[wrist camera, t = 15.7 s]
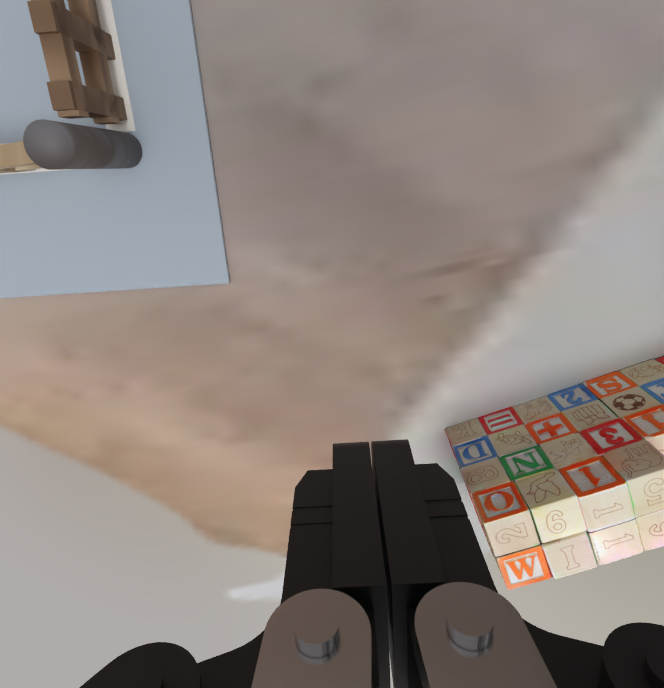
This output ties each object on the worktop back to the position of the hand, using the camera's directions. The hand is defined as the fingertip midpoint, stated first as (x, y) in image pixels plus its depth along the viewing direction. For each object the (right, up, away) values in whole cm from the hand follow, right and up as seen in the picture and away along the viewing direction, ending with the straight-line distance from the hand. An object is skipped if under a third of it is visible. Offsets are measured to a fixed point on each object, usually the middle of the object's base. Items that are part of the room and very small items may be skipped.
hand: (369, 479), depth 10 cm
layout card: (-21, +17, +25) cm, 37 cm away
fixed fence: (-16, +21, +23) cm, 35 cm away
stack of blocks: (+20, -4, +33) cm, 38 cm away
